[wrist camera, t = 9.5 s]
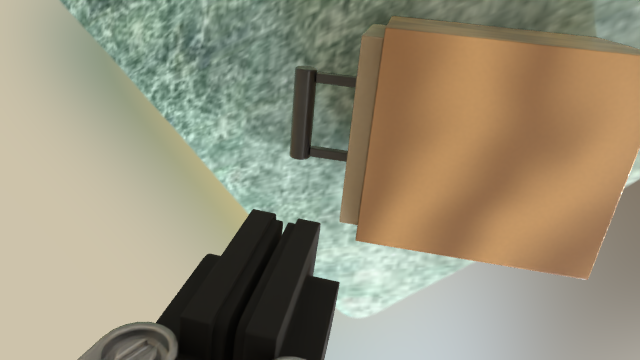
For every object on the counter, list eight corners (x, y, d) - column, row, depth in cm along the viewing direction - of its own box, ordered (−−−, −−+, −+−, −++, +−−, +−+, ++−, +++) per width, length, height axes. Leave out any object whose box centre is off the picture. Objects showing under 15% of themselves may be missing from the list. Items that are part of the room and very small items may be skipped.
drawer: (300, 167, 37) (274, 211, 30) (312, 17, 32) (284, 26, 25) (517, 200, 35) (545, 256, 28) (563, 44, 30) (611, 63, 23)
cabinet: (367, 180, 37) (355, 241, 28) (391, 15, 32) (385, 27, 23) (544, 207, 35) (588, 280, 27) (598, 37, 30) (675, 59, 22)
